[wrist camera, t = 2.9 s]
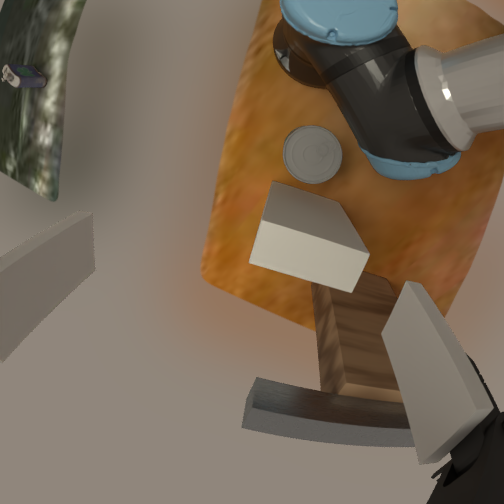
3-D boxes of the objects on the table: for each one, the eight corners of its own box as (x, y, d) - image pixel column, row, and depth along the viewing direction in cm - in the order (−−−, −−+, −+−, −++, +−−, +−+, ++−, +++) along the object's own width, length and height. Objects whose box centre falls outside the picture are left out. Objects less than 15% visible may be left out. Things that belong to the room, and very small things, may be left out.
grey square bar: (256, 376, 28) (252, 407, 25) (437, 405, 28) (446, 429, 25) (246, 398, 30) (241, 427, 26) (420, 423, 30) (426, 446, 26)
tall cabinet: (322, 258, 55) (346, 382, 27) (386, 278, 55) (441, 395, 28) (309, 289, 58) (318, 418, 30) (371, 307, 58) (410, 427, 31)
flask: (49, 80, 45) (14, 79, 35) (42, 91, 46) (9, 92, 36) (31, 63, 43) (-1, 62, 33) (26, 73, 44) (-7, 74, 34)
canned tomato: (297, 179, 49) (300, 194, 39) (274, 139, 47) (271, 142, 37) (338, 159, 47) (352, 168, 37) (316, 117, 45) (324, 115, 35)
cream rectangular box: (272, 180, 50) (261, 219, 30) (338, 202, 50) (370, 254, 30) (262, 212, 53) (246, 271, 33) (326, 233, 53) (347, 300, 33)
